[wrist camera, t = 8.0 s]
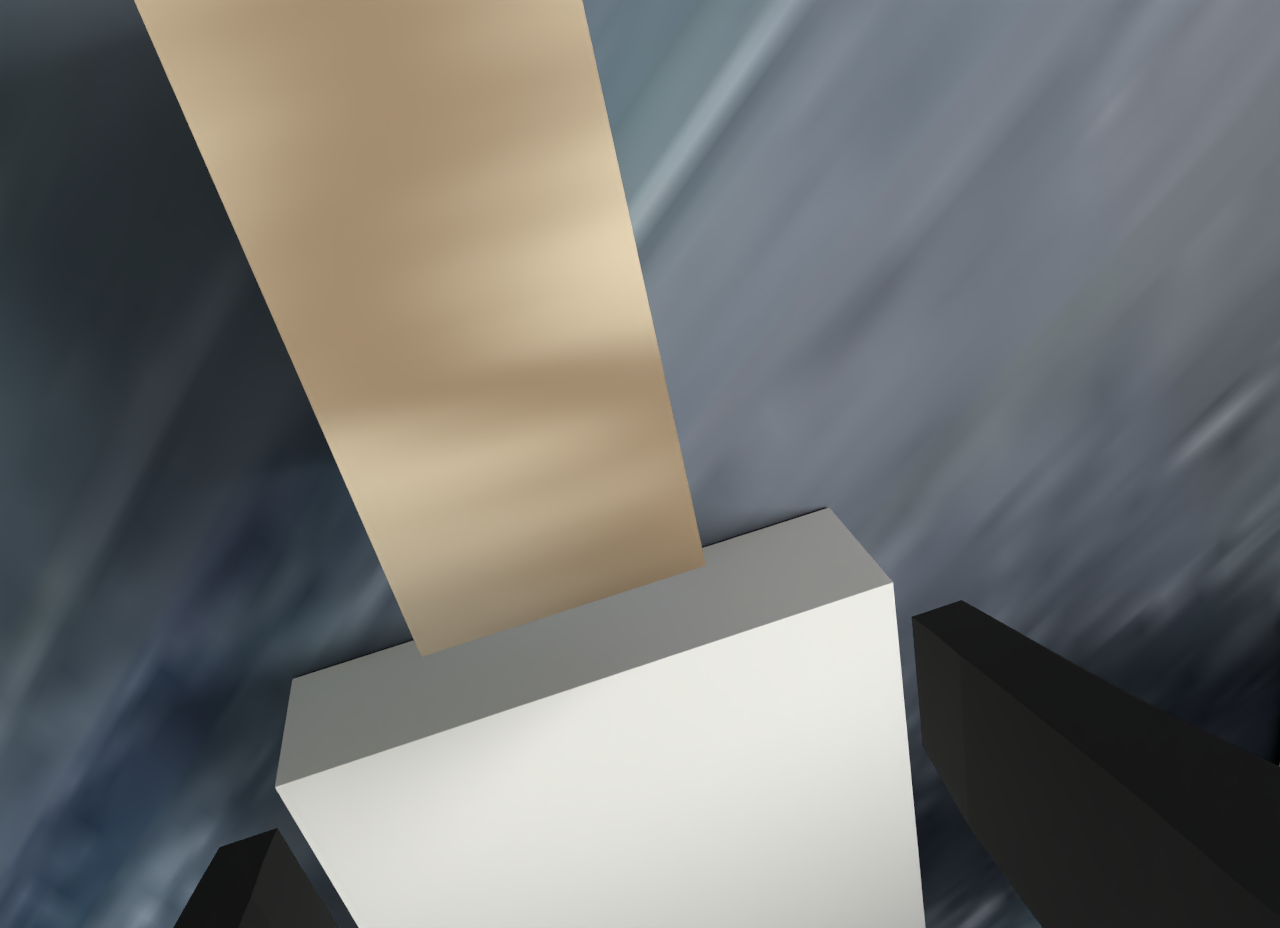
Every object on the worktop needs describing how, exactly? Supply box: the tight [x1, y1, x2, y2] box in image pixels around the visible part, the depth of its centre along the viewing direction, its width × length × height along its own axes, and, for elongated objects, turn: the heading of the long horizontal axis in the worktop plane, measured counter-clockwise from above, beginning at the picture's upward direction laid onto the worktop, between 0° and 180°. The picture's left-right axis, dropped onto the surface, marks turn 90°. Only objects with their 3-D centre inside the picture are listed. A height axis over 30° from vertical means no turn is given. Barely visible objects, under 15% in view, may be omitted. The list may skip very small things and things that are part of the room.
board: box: [275, 508, 925, 928], centre depth 18 cm, size 10×10×2 cm
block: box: [134, 0, 706, 657], centre depth 11 cm, size 3×6×6 cm
